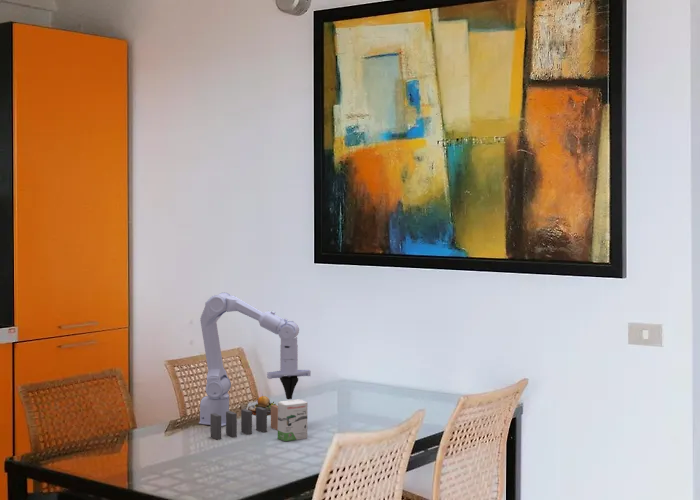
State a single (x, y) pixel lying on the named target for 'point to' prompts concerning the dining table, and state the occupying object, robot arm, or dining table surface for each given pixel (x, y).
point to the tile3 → (246, 421)
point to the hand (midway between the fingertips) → (289, 398)
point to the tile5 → (215, 426)
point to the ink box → (292, 420)
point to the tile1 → (274, 417)
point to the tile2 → (261, 419)
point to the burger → (262, 405)
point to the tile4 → (231, 424)
